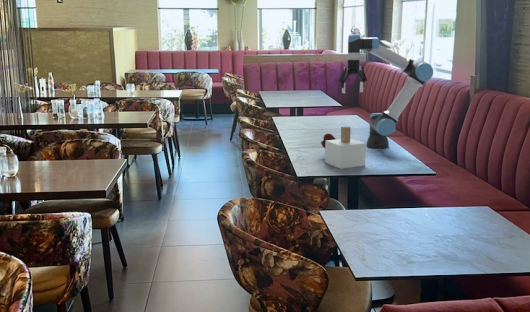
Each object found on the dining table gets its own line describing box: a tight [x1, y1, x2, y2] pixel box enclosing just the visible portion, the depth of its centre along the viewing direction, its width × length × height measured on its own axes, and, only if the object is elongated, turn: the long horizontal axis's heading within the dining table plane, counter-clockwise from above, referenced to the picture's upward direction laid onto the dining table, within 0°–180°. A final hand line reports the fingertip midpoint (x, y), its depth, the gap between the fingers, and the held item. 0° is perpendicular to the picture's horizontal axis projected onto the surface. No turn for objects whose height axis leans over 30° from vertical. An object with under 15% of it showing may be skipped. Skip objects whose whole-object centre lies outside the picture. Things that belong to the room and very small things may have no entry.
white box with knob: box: [324, 125, 367, 170], centre depth 324 cm, size 17×17×22 cm
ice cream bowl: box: [320, 133, 337, 149], centre depth 345 cm, size 11×11×15 cm
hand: (352, 92), depth 353 cm, fingers open, 13 cm apart
